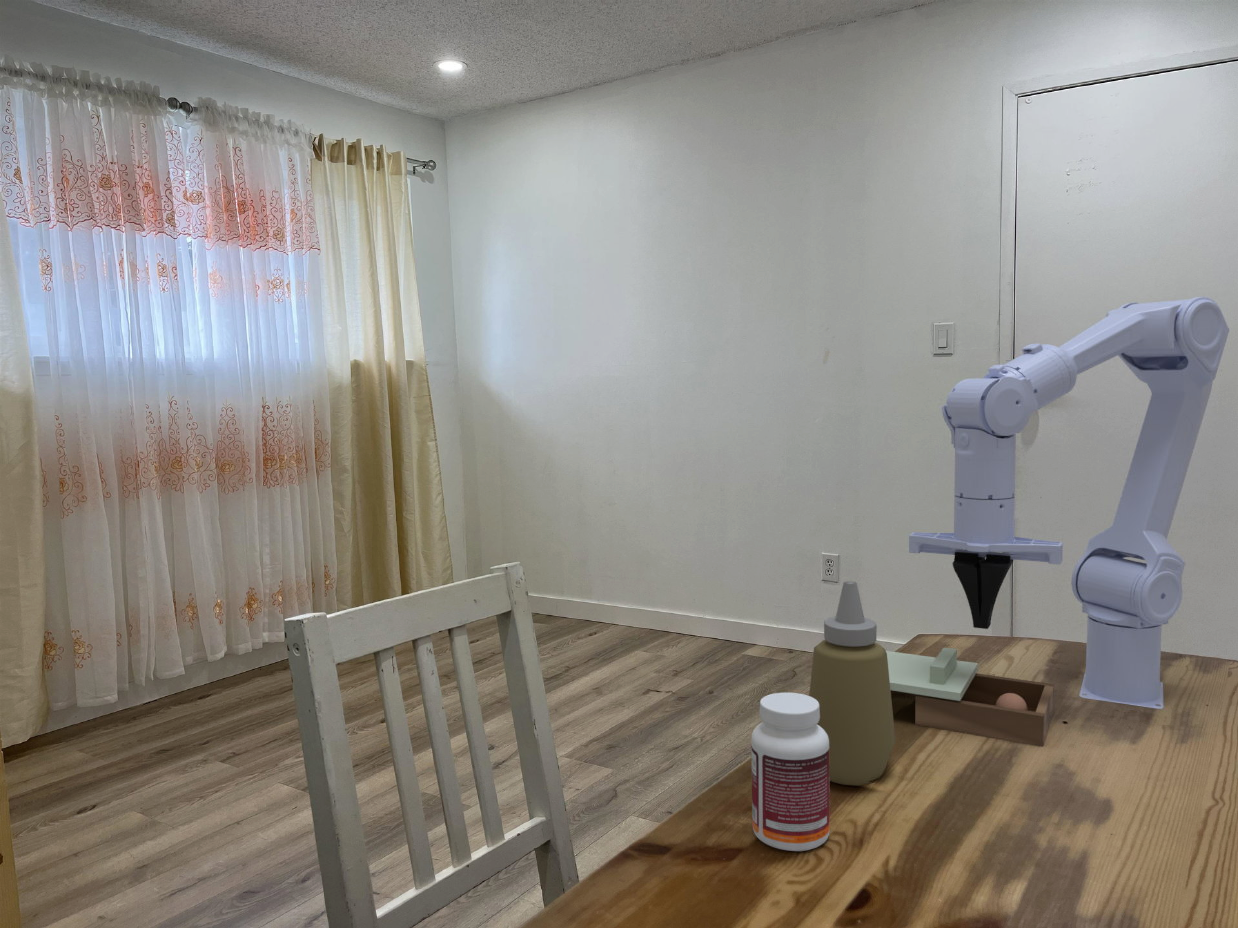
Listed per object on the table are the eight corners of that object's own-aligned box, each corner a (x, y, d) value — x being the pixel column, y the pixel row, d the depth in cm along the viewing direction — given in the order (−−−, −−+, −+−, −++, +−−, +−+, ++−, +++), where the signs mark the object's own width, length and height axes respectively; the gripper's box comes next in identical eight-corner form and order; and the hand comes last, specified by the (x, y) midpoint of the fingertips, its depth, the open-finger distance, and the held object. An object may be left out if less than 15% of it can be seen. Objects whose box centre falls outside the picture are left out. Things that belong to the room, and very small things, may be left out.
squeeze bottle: (788, 775, 84) (787, 584, 82) (833, 747, 90) (833, 569, 88) (868, 802, 78) (869, 598, 77) (910, 770, 84) (912, 580, 82)
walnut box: (935, 698, 102) (936, 667, 102) (1053, 717, 96) (1054, 684, 96) (915, 729, 94) (915, 695, 93) (1042, 752, 88) (1043, 716, 87)
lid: (866, 654, 106) (867, 633, 106) (977, 670, 100) (978, 647, 100) (840, 682, 97) (840, 658, 97) (960, 700, 91) (960, 675, 91)
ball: (997, 714, 96) (998, 687, 95) (1028, 719, 94) (1029, 691, 94) (993, 724, 93) (993, 696, 93) (1025, 729, 92) (1025, 700, 91)
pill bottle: (846, 838, 73) (846, 705, 72) (789, 862, 69) (789, 723, 68) (791, 808, 78) (790, 683, 77) (736, 829, 74) (734, 699, 73)
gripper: (902, 497, 93) (901, 627, 94) (1059, 505, 86) (1055, 645, 87) (917, 488, 99) (916, 610, 100) (1065, 495, 92) (1062, 626, 93)
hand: (982, 625), depth 94 cm, fingers closed
